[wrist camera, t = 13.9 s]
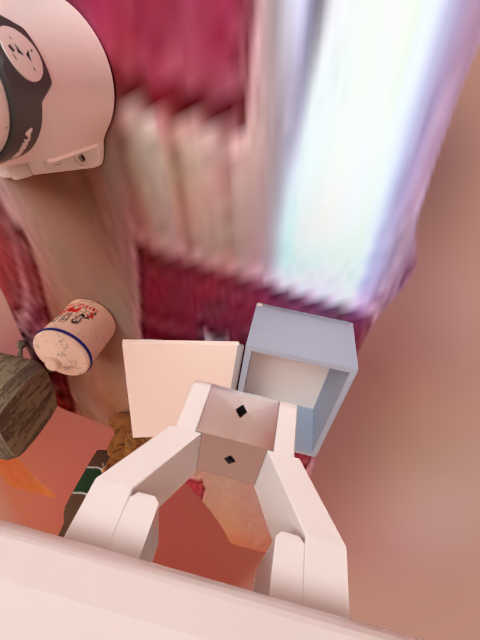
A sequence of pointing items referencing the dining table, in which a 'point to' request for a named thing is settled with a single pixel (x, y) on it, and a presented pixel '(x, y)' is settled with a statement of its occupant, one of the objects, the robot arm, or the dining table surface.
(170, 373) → the lid
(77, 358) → the teacup with lid
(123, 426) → the stuffed squirrel
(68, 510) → the beer bottle
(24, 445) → the brown cowbell
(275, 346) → the box
